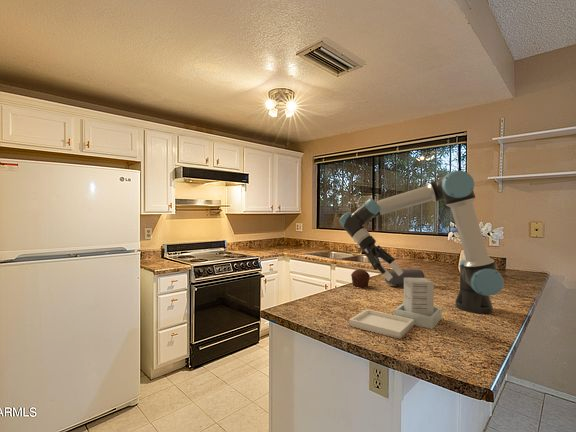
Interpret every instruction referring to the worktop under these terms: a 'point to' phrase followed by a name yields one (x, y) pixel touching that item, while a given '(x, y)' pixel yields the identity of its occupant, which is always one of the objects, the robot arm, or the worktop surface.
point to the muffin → (360, 278)
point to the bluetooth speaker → (404, 276)
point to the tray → (382, 323)
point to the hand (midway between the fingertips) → (396, 276)
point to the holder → (420, 316)
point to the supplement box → (419, 296)
